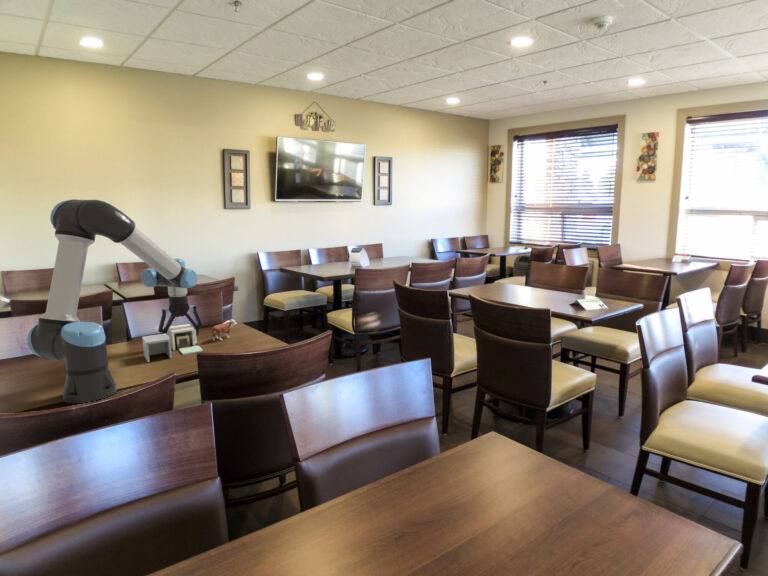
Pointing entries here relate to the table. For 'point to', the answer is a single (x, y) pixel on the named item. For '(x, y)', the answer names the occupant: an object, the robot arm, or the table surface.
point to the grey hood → (156, 345)
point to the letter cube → (182, 340)
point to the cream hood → (180, 330)
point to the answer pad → (190, 350)
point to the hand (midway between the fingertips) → (182, 345)
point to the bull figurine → (223, 329)
